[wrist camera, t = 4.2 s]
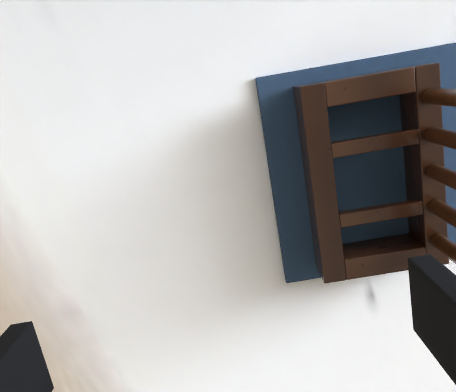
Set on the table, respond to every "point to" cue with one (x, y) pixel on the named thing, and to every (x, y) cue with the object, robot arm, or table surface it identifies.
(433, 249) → the rack
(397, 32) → the table surface
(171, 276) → the table surface
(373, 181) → the runner mat
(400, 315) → the table surface
